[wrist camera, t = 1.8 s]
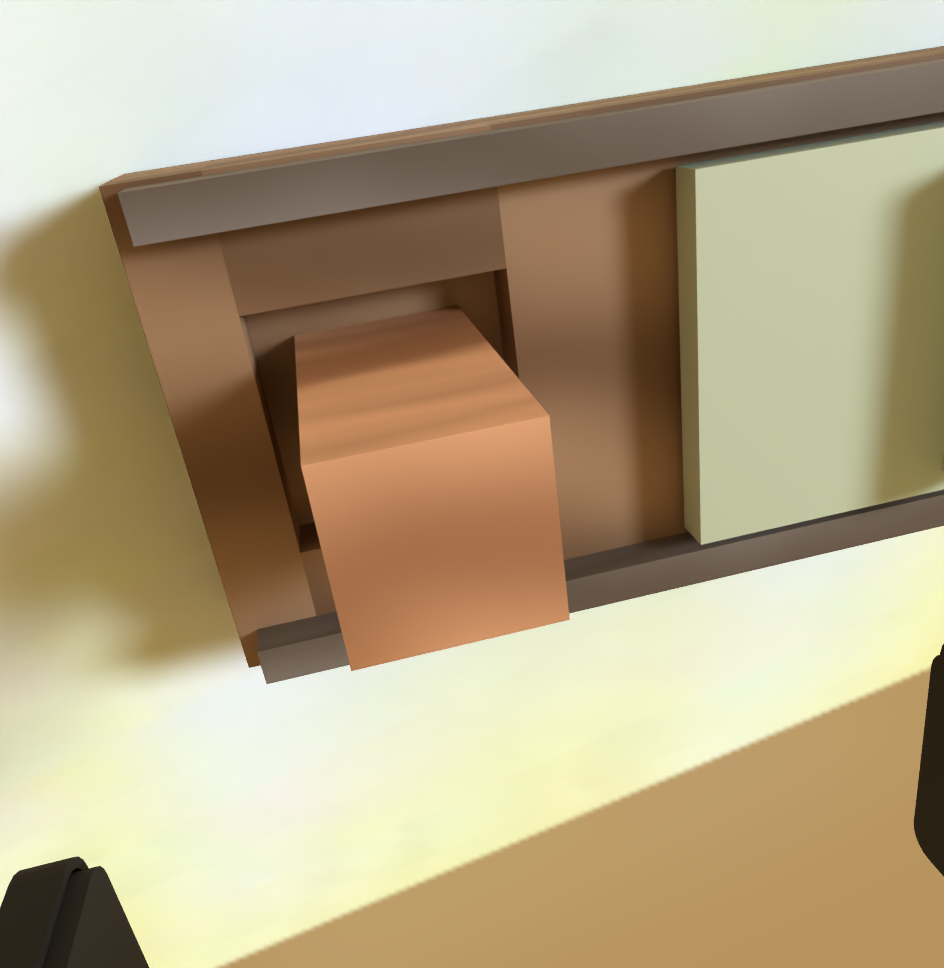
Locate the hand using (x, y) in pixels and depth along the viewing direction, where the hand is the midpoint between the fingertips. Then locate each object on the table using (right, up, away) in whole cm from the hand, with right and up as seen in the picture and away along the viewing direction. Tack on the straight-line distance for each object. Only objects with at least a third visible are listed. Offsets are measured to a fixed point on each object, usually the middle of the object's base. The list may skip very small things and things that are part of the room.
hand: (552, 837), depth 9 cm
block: (-3, +6, +12) cm, 14 cm away
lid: (+8, +8, +12) cm, 16 cm away
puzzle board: (+3, +8, +14) cm, 16 cm away
